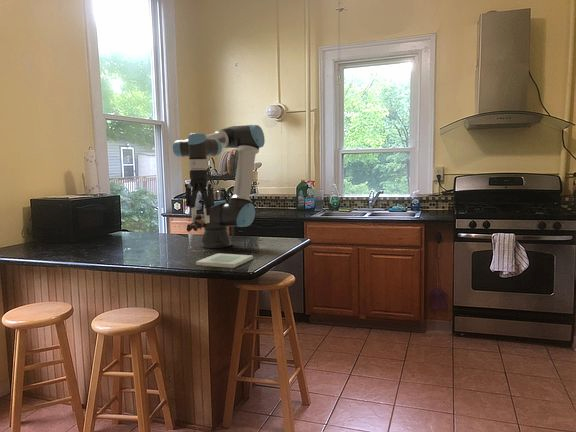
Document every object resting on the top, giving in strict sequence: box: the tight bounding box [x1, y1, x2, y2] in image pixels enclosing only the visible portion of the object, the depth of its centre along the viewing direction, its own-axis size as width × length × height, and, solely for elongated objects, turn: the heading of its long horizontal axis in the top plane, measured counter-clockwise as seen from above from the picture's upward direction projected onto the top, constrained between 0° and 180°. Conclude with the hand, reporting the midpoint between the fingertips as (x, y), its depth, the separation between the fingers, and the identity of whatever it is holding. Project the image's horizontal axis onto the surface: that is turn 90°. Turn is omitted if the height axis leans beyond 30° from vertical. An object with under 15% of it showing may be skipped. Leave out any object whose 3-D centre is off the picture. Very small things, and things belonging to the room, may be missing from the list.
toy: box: [186, 213, 209, 233], centre depth 198 cm, size 6×7×15 cm
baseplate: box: [195, 253, 254, 269], centre depth 197 cm, size 18×18×2 cm
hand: (200, 222), depth 198 cm, fingers closed on toy, 6 cm apart
